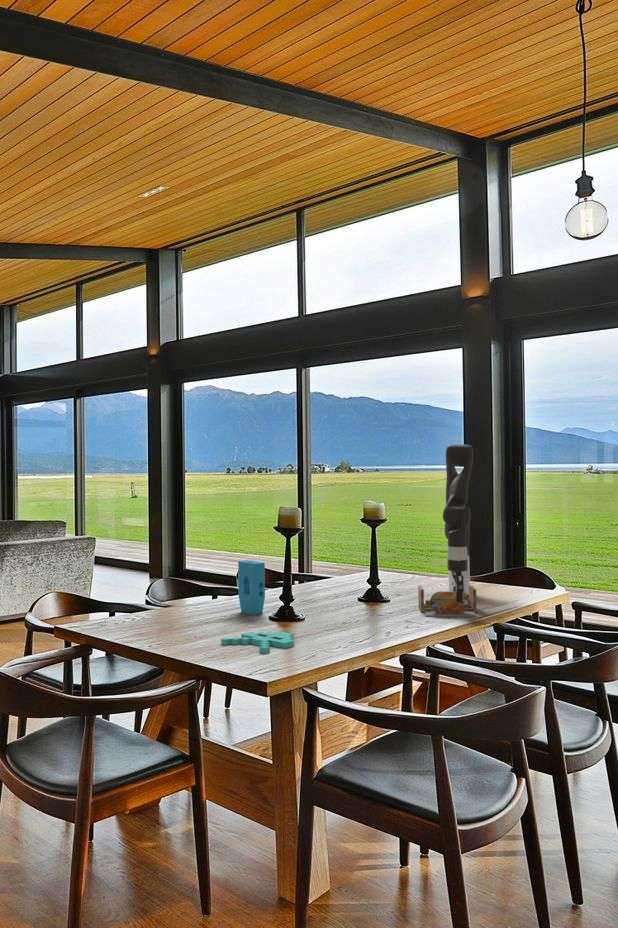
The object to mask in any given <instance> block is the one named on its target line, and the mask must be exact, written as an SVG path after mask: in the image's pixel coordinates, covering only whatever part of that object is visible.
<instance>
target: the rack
mask: <svg viewBox="0 0 618 928" xmlns="http://www.w3.org/2000/svg"><path fill="white" fill-rule="evenodd" d="M417 588H418V592H417V593H418V595H417V596H418V602H417V603H418V610H419V611H420V613H422V614H423V613H424V612H435V611H433V609H432V608H431V606H430V605H425V589H424V587H423V586H422V585H421V584H420V585H419V584H418V587H417ZM468 598H469V600H470V605H469V608H468V609H467V610H466V611H465V612H474V613H475V614H476V613H477V589H476V588H475V587H474V585H472V584H470V585H469V595H468Z"/></svg>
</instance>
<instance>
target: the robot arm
mask: <svg viewBox="0 0 618 928" xmlns="http://www.w3.org/2000/svg"><path fill="white" fill-rule="evenodd" d="M473 463H474V448H473V446H472V445H470V444H458V443H454V444H453V443H451V444H448V445H447V447H446V449H445V469H446V483H445V506H444V509H443V512H442V520H443V521H444V536H445V538H446V539H447V551H446V552H447V554H446V555H447V571H448V591H456V602H457V603H462V593H465V594H466V595H467V596H469V585H471V580H470V579H471V578H470V577H471V575H470V574H471V573H470V572H471V571H470V568H471V566H470V563H471V562H470V536H471V533H470V532H471V530H470V529H471V526H470V525H471V524H470V523H471V522H470V521H471V518H472V511H471V509H470V508H469V506H466V504H467V502H468V499H469V498H468V497H469V495H468V494H469V482H470V478H471V474H472V470H473ZM462 467H463V469H462V470H461V471H460V472H459V473H458V471H457V469H456V468H462Z"/></svg>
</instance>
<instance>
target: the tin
mask: <svg viewBox="0 0 618 928" xmlns="http://www.w3.org/2000/svg"><path fill="white" fill-rule="evenodd" d="M469 605H470V600H469V595H466V594H465V593H462V603H457V602H456V591H449V590H448V591H437V592H434V593H433V594H432V595H431V597H430V606H431V608H432V609H433V611H435V612H436V613H439V614H460V613H464V612H465V611H466V610H467V609H468V608H469Z"/></svg>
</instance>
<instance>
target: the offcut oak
mask: <svg viewBox="0 0 618 928" xmlns="http://www.w3.org/2000/svg"><path fill="white" fill-rule="evenodd" d="M430 599H431V598H430ZM430 599H428V598H427V599H424V604H425V605H430Z"/></svg>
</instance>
